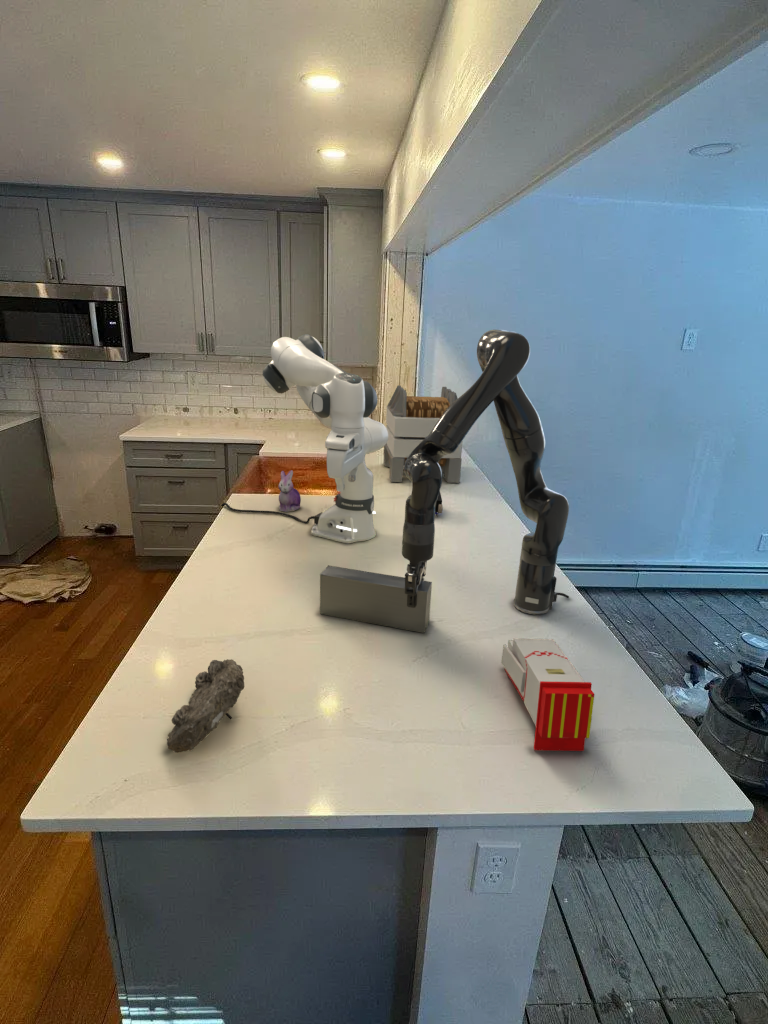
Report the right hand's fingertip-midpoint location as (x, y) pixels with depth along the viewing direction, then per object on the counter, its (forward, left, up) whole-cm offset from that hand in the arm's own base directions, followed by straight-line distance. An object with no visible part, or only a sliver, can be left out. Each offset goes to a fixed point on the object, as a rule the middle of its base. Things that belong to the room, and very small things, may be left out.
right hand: (414, 600), depth 140 cm
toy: (-13, +35, -7) cm, 38 cm away
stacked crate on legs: (-58, -129, -7) cm, 141 cm away
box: (+8, -6, -7) cm, 12 cm away
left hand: (+9, -30, +21) cm, 38 cm away
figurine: (+13, -93, -7) cm, 94 cm away
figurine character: (-40, -75, -7) cm, 85 cm away
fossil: (+50, +20, -7) cm, 54 cm away
